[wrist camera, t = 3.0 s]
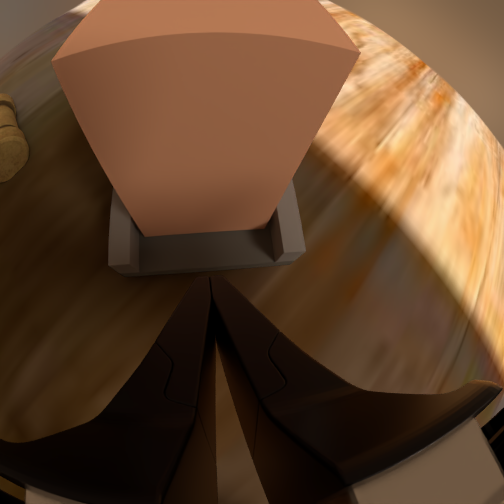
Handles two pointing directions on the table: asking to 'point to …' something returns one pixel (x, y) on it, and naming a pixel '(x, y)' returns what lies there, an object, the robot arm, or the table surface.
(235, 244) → the gray tray
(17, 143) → the gavel
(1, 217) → the table surface
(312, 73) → the block
